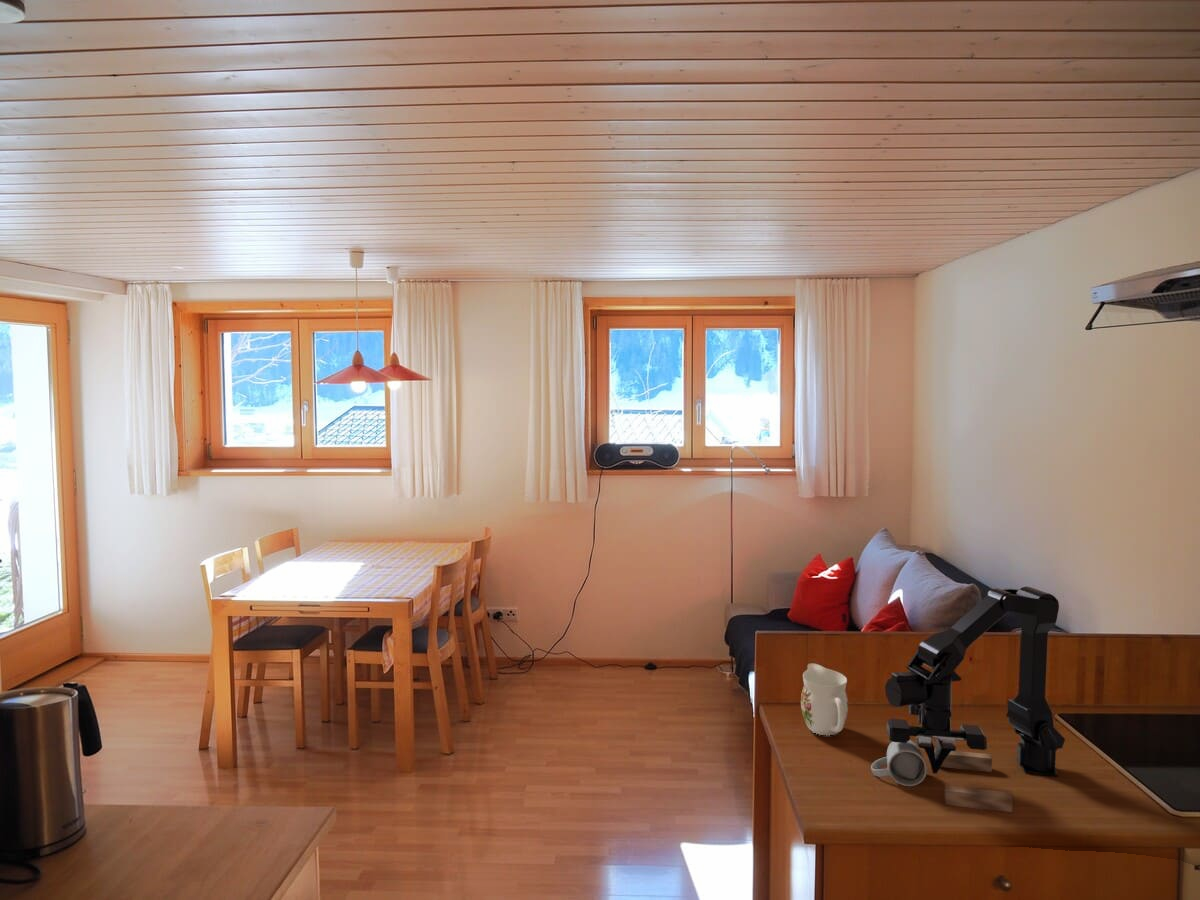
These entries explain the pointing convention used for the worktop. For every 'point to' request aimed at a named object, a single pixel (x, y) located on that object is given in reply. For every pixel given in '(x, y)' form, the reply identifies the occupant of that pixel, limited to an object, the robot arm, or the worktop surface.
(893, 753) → the ceramic mug
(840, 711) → the pitcher
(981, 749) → the robot arm
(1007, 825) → the worktop surface
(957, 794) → the mug dock
